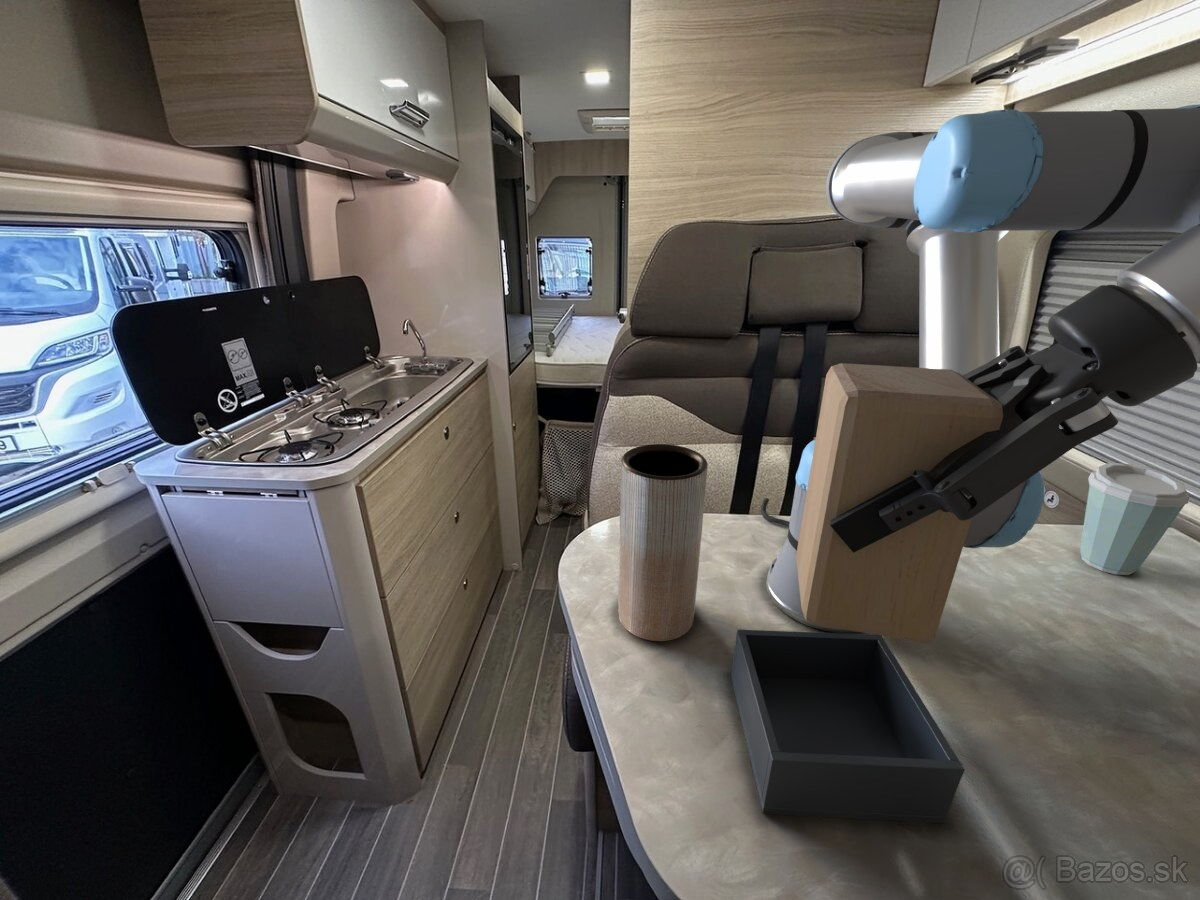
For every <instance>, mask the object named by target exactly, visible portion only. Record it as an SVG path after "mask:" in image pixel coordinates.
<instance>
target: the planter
mask: <svg viewBox="0 0 1200 900" xmlns="http://www.w3.org/2000/svg"><path fill="white" fill-rule="evenodd" d="M707 479H708V461H707V459H706V458H705V457H704V456H703V455H702V454H701V453H699V452H698V451H696V450H694V449H691V448H688V447H684V446H681V445H675V444H668V443H667V444H666V443H652V444H645V445H639V446H636V447H633V448H631V449H628V450H627V451H626V452H625V453H624V454H623V455H622V456H621V460H620V488H619V489H620V491H619V493H620V494H619V541H618V542H619V543H618V544H619V545H618V547H619V549H618V550H619V551H618V590H617V591H618V595H617V596H618V598H617V599H618V600H617V609H618V610H617V611H618V619H619V621H620V624H621V625H622V626H623V627H624V628H625V630H626V631H628V632H629V633H631V634H632V635H634V636H636V637H637V638H639V639H643V640H646V641H653V642H667V641H673V640H675V639H676V640H677V639H678V638H681V637H682V636H684V635H685V634H687V633H688V632H689V630H690V629H691V628H692V627H693V624H694V619H695V611H696V603H697V601H696V600H697V589H698V580H699V579H698V578H699V577H698V576H699V569H700V568H699V566H700V557H701V555H700V554H701V546H702V545H701V544H702V534H703V523H704V511H705V499H706V490H707V489H706V487H707Z"/></svg>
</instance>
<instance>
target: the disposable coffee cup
mask: <svg viewBox="0 0 1200 900" xmlns="http://www.w3.org/2000/svg"><path fill="white" fill-rule="evenodd" d="M1087 480H1088V484H1089V487H1088V493H1087V501H1086V506H1085V514H1084V520H1083V527H1082V534H1081V540H1080V546H1079V553H1080V559H1081V560H1082V561H1083V562H1084V563H1085V564H1087V565H1088V566H1089V567H1091V568H1094V569H1096V570H1099V571H1101V572H1104V573H1108V574H1112V575H1117V576H1129V575H1132V574H1134V573H1135V572H1136V571H1138V570H1140V568H1141V567H1142V565H1143V564H1144V563H1145V562H1146V560H1147V559H1148V557H1149V556H1150V555H1151V553H1152V551H1153V550H1154V549H1155V547H1156V546H1157V545H1158V543H1159V542H1160V540H1161V539H1162V537H1163V536H1165V534H1166V532H1167V531H1168V529H1169V528H1170V527H1171V525H1172V524H1173V522H1174V521H1175V519H1176V518H1177V517H1178V515H1179V514H1180V513H1181V511H1182V510H1183V508H1184V507H1185V505H1187V504H1189V500H1190V495H1189V493H1188V492H1187V489H1186V487H1185V485H1184V483H1183V482H1182V481H1180V480H1178V479H1177V478H1175V477H1173V476H1172V475H1171V474H1168V473H1166V472H1163V471H1161V470H1157V469H1155V468H1152V467H1149V466H1144V465H1137V464H1131V463H1123V462H1121V463H1120V462H1119V463H1118V462H1107V463H1105V464H1102V465H1100V466H1097V468H1096V470H1095V471H1092V472H1090V475H1089V476H1088V477H1087Z"/></svg>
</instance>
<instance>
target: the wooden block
mask: <svg viewBox="0 0 1200 900" xmlns="http://www.w3.org/2000/svg"><path fill="white" fill-rule="evenodd" d="M1002 419H1003V410H1002V404H1001V403H1000V402H998V401H997V400H995V399H994V398H993V397H991V396H990V395H989V394H987V393H986V392H985V391H983V390H982V389H980V388H979V387H978V386H976V385H975V384H974V383H972V382H971V381H969V380H968V379H967V378H965V377H964V376H963V375H961V374H960V373H957V372H955V371H953V370H949V369H932V368H919V367H913V366H896V365H895V366H893V365H880V364H879V365H877V364H863V363H862V364H861V363H845V362H841V363H837V364H835V365H831V366H830V368H829V369H828V371H827V372H826V375H825V380H824V387H823V392H822V399H821V404H820V409H819V416H818V423H817V429H816V435H815V439H816V440H815V439H814V440H815V446H814V452H813V458H812V464H811V470H810V476H809V482H808V488H807V493H806V499H805V505H804V511H803V517H802V523H801V529H800V535H799V541H798V547H797V553H796V562H797V571H798V580H799V589H800V598H801V607H802V612H803V615H804V617H805V619H806V620H807V621H809V622H811V623H813V624H816V625H822V626H828V627H834V628H840V629H845V630H851V631H857V632H856V633H862V634H871V635H880V636H883V637H886V638H892V639H899V640H905V641H910V642H916V643H922V644H924V643H931V642H932V641H933V640H935V638H936V635H937V632H938V630H939V626H940V622H941V620H942V617H943V612H944V609H945V606H946V603H947V600H948V596H949V593H950V590H951V587H952V584H953V581H954V578H955V573H956V571H957V567H958V564H959V561H960V558H961V555H962V551H963V548H964V547H963V545H964V542H965V539H966V535H967V532H968V529H969V526H970V522H971V519H972V518H970V519H968V520H963V521H961V520H959V519H958V518H957V517H956V515H955V514H953V513H951V512H943V511H942V510H938V511H936V512H934V513H932V514H930V515H928V516H926V517H924V518H922V519H920V520H918V521H916V522H914V523H912V524H910V525H908V526H906V527H904V528H902V529H900V530H898V531H896V532H894V533H892V534H890V535H888V536H886V537H884V538H882V539H880V540H878V541H876V542H874V543H872V544H870V545H868V546H866V547H864V548H862V549H860V550H858V551H856V552H854V553H853V552H852V550H851V549H850V548H849V547H848V546H847V545H846V543H845V542H844V541H843V540H842V539H841V538H840V536H839V535H838V534H837V533H836V532H835V531H834V530H833V528H832V527H831V526H830V520H832V519H834V518H836V517H838V516H840V515H841V514H843V513H845V512H847V511H848V510H850V509H852V508H854V507H856V506H858V505H859V504H861V503H863V502H865V501H867V500H868V499H870V498H872V497H874V496H876V495H878V494H879V493H881V492H883V491H885V490H887V489H888V488H890V487H892V486H894V485H896V484H897V483H899V482H901V481H903V480H905V479H907V478H908V477H910V476H912V473H913V471H914V470H916V471H917V470H923V471H927V472H930V471H931V470H932V469H933V468H934V467H935V466H936V465H937V464H938V463H940V462H941V461H942V460H943V459H944V458H945V457H946V456H947V455H948V454H950V453H951V452H953V451H955V450H956V449H958V448H960V447H962V446H963V445H965V444H967V443H968V442H970V441H972V440H974V439H975V438H977V437H979V436H980V435H982V434H984V433H986V432H990V431H995V430H999V429H1000V425H1001V422H1002ZM970 497H972V496H969V497H968V498H970Z"/></svg>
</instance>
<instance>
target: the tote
mask: <svg viewBox="0 0 1200 900" xmlns="http://www.w3.org/2000/svg"><path fill="white" fill-rule="evenodd" d="M885 640H886V639H885V638H884V636H880V635H874V634H869V633H836V632H816V631H815V632H813V631H792V630H791V631H787V630H761V629H760V630H759V629H736V634H735V643H734V651H733V656H732V657H733V659H732V666H731V673H730V677H731V682H732V687H733V691H734V695H735V700H736V703H737V709H738V713H739V717H740V722H741V726H742V730H743V734H744V738H745V743H746V748H747V753H748V756H749V761H750V765H751V769H752V775H753V778H754V782H755V787H756V791H757V796H758V800H759V805H760V809H761V813H762V814H764V815H780V816H781V815H783V816H801V817H803V816H804V817H819V818H820V817H823V818H839V819H840V818H841V819H859V820H879V821H896V822H897V821H898V822H915V823H934V824H935V823H937V824H944V823H945V822H946V820H947V816H948V814H949V811H950V809H951V807H952V803H953V802H954V799H955V796H956V793H957V791H958V789H959V786H960V783H961V781H962V778H963V776H964V773H965V766H964V765H963V764H962V762H961V761H960V760H959V758H958V756H957V755H956V753H955V751H954V749H953V748H952V746H951V745H950V743H949V742H948V740H947V738H946V737H945V735H944V734H943V732H942V729H940V726H938V724H937V723H936V721H935V719H934V718H933V716H932V714H931V713H930V711H929V709H928V708H927V706H926V704H925V702H924V701H923V700H922V697H921V696H920V695H919V693H918V692H917V689H916V688H915V687H914V685H913V684H912V682H911V681H910V679H909V677H908V675H907V674H906V673H905V671H904V669H903V668H902V666H901V664H900V662H899V661H898V659H897V658H896V656H895V654H894V653H893V651H892V649H891V648H890V646H889V645H888V643H887V642H886V641H885Z"/></svg>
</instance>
